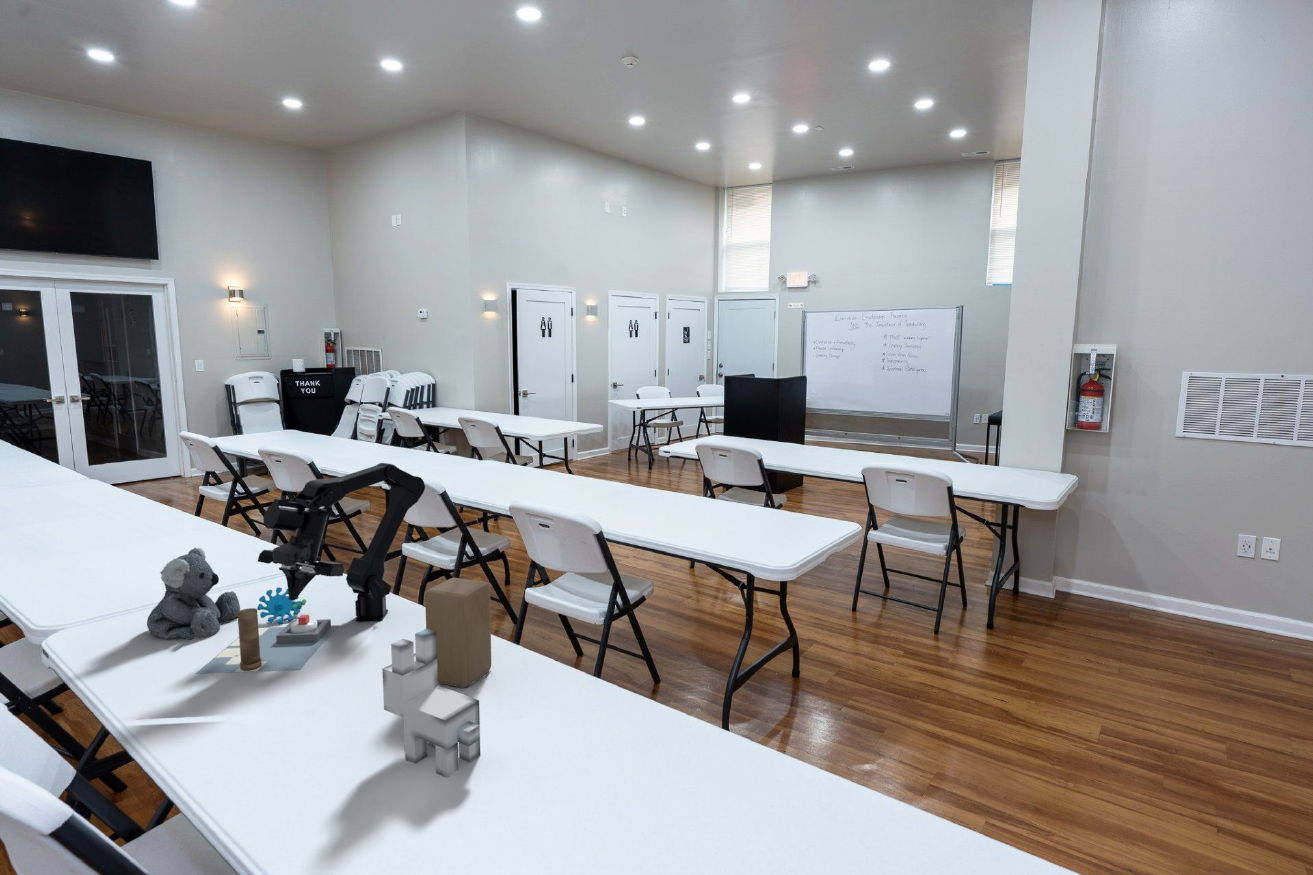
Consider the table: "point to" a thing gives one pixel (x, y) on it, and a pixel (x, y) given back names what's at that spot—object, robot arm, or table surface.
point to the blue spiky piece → (279, 606)
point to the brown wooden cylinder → (249, 639)
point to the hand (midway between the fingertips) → (291, 600)
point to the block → (460, 629)
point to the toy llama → (430, 706)
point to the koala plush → (190, 600)
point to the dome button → (304, 625)
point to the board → (274, 649)
